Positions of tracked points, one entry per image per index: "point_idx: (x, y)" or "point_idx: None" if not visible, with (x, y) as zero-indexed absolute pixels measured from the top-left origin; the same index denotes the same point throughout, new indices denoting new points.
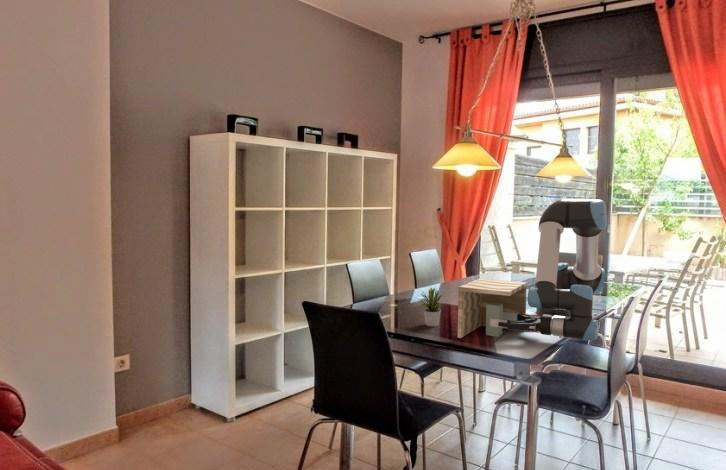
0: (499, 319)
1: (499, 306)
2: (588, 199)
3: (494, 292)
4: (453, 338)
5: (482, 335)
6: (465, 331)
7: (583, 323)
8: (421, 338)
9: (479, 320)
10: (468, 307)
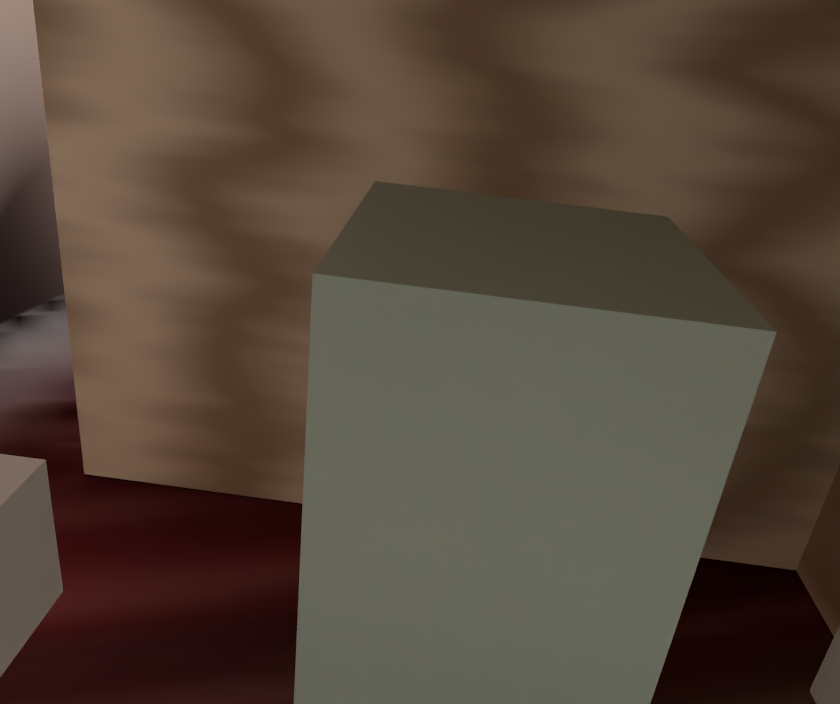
0: (350, 649)
1: (346, 303)
2: None
3: None
4: (59, 430)
5: (283, 644)
6: (220, 452)
7: None
8: (44, 304)
9: (761, 496)
10: (327, 180)
